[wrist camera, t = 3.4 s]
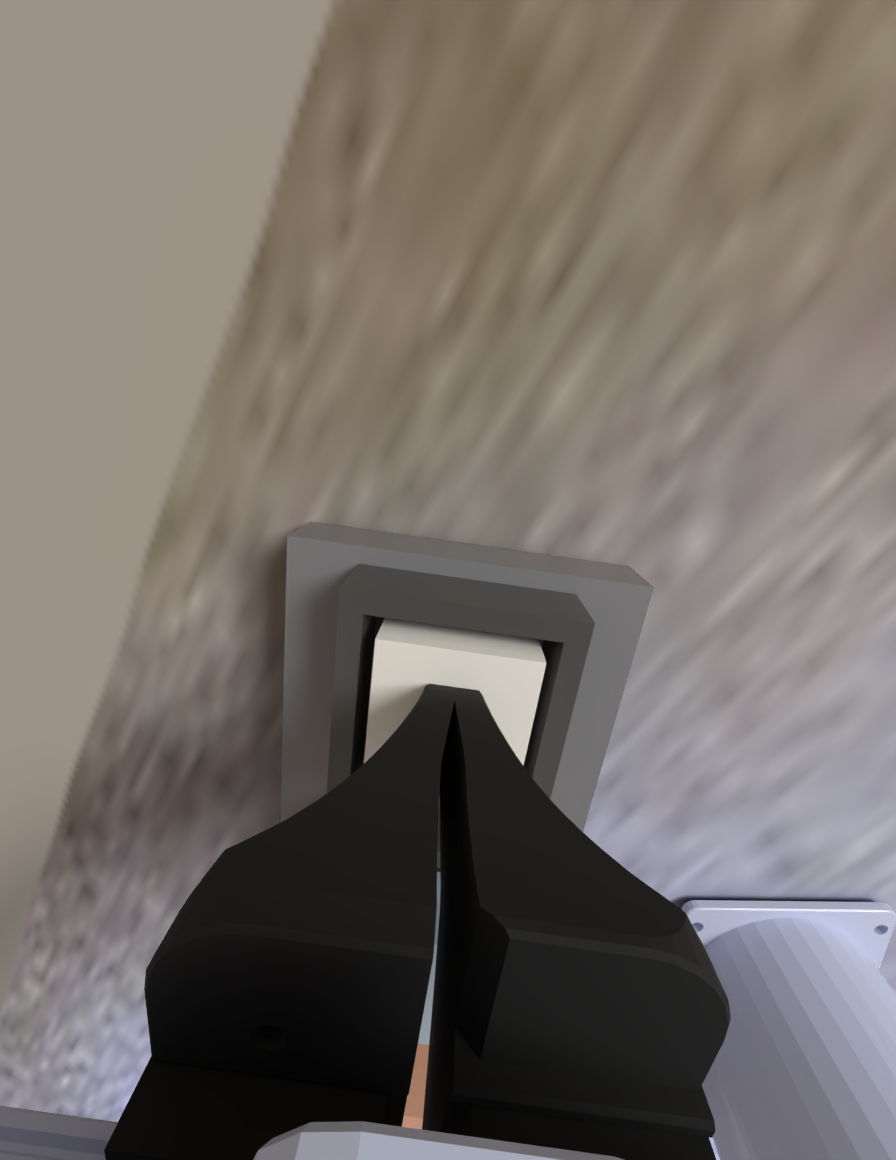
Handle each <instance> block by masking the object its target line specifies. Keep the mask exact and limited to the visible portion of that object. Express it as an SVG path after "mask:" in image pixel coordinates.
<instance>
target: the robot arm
mask: <svg viewBox="0 0 896 1160" xmlns="http://www.w3.org/2000/svg"><path fill="white" fill-rule="evenodd" d="M439 795H440V880H441V889H440V915H439V928H438V941H437V954H436V967H435V979H434V992H433V1004H432V1017H431V1029H430V1041H429V1053H428V1065H427V1076H426V1088H425V1100H424V1111H423V1123H422V1130H421V1129H414V1128H406V1127H402V1123H403V1117H404V1112H405V1106H406V1100H407V1095H409V1090H410V1085H411V1079H412V1074H413V1068H414V1063H415V1057H416V1051H417V1046H418V1040H419V1035H420V1029H421V1023H422V1018H423V1012H424V1007H425V1001H426V995H427V990H428V984H429V979H430V973H431V967H432V962H433V954H434V942H435V927H436V912H437V842H438V813H439ZM895 923H896V914H895V912H894V911H893V910H892V909H891V908H890V907H889V906H888V905H887V904H885V903H881V902H828V901H740V900H691V901H688V902H686V903H685V904H684V905H683V907H682V909H680V908H679V907H677V906H676V905H674V904H673V903H672V902H670V901H669V900H667V899H666V898H665V897H663V896H662V895H660V894H659V893H658V892H656V891H655V890H653V889H652V888H651V887H649V886H648V885H646V884H645V883H644V882H642V881H641V880H639V879H638V878H637V877H635V876H634V875H633V874H631V873H630V872H629V871H627V870H626V869H625V868H624V867H623V866H621V865H620V864H619V863H618V862H616V861H615V860H614V859H613V858H612V857H610V856H609V855H608V854H607V853H606V852H604V851H603V850H602V849H601V848H600V847H599V846H597V845H596V844H595V843H594V842H593V841H592V840H591V839H590V838H588V837H587V836H586V835H585V834H584V833H583V832H582V831H581V830H580V829H579V828H578V827H577V826H576V825H575V824H574V823H573V822H572V821H571V820H570V819H569V818H568V817H567V816H566V815H565V814H563V812H562V811H561V810H560V809H559V808H558V807H557V806H556V805H555V804H554V803H553V802H552V801H551V800H550V799H549V797H548V796H547V795H546V794H545V793H544V792H543V790H542V789H541V788H540V787H539V786H538V785H537V783H536V782H535V781H534V780H533V778H532V777H531V776H530V774H529V773H528V772H527V770H526V769H525V767H524V766H523V765H522V763H521V762H520V760H519V759H518V758H517V756H516V754H515V753H514V751H513V750H512V748H511V747H510V745H509V744H508V742H507V740H506V739H505V737H504V735H503V734H502V732H501V730H500V729H499V727H498V725H497V723H496V722H495V720H494V718H493V716H492V714H491V712H490V710H489V708H488V706H487V704H486V702H485V699H484V697H483V695H482V694H481V692H480V691H479V690H473V689H465V688H458V687H451V686H444V685H437V684H428V685H427V686H425V687H424V690H423V692H422V694H421V696H420V698H419V699H418V701H417V703H416V704H415V706H414V707H413V709H412V710H411V712H410V713H409V714H408V716H407V717H406V718H405V719H404V721H403V722H402V723H401V725H400V726H399V727H398V728H397V730H396V731H395V732H394V733H393V734H392V735H391V736H390V738H389V739H388V740H387V741H386V742H385V743H384V744H383V745H382V746H381V747H380V749H379V750H378V751H377V752H376V753H375V754H374V755H373V756H371V757H370V758H369V759H368V760H367V761H366V762H365V763H364V764H363V765H362V766H361V767H359V768H358V769H357V770H356V771H355V772H354V773H353V774H351V775H350V776H349V777H348V778H346V779H345V780H344V781H342V782H341V783H340V784H339V785H337V786H336V787H335V788H334V789H332V790H331V791H329V792H328V793H327V794H325V795H324V796H323V797H321V798H320V799H318V800H317V801H315V802H313V803H312V804H310V805H309V806H307V807H305V808H304V809H302V810H301V811H299V812H298V813H296V814H294V815H293V816H291V817H290V818H288V819H286V820H285V821H283V822H281V823H279V824H277V825H276V826H273V827H271V828H269V829H267V830H265V831H263V832H261V833H259V834H257V835H255V836H253V837H251V838H249V839H247V840H245V841H243V842H241V843H239V844H237V845H234V846H232V847H230V848H228V849H226V850H225V851H224V852H223V853H222V854H221V856H220V857H219V858H218V859H217V861H216V862H215V863H214V864H213V866H212V867H211V868H210V870H209V871H208V872H207V873H206V875H205V876H204V877H203V879H202V880H201V882H200V883H199V884H198V885H197V887H196V888H195V889H194V891H193V892H192V893H191V895H190V896H189V898H188V899H187V901H186V902H185V904H184V905H183V907H182V908H181V910H180V911H179V913H178V915H177V917H176V918H175V920H174V922H173V923H172V925H171V927H170V929H169V930H168V932H167V934H166V935H165V937H164V939H163V941H162V942H161V944H160V946H159V947H158V949H157V951H156V953H155V954H154V956H153V958H152V960H151V962H150V964H149V965H148V967H147V969H146V977H145V988H144V990H145V999H146V1008H147V1017H148V1026H149V1035H150V1044H151V1053H152V1056H151V1058H150V1060H149V1062H148V1064H147V1066H146V1068H145V1070H144V1072H143V1074H142V1076H141V1078H140V1080H139V1082H138V1084H137V1086H136V1088H135V1090H134V1092H133V1094H132V1096H131V1098H130V1100H129V1102H128V1104H127V1106H126V1108H125V1110H124V1112H123V1114H122V1116H121V1118H120V1120H119V1121H118V1122H112V1121H104V1120H97V1119H90V1118H83V1117H76V1116H69V1115H62V1114H54V1113H47V1112H40V1111H33V1110H26V1109H19V1108H12V1107H4V1106H0V1160H716V1158H715V1155H714V1152H713V1149H712V1146H711V1143H710V1140H709V1137H713V1139H714V1142H715V1145H716V1148H717V1151H718V1154H719V1157H720V1160H896V993H895V991H894V990H893V989H892V988H891V986H890V985H889V984H888V982H887V981H886V980H885V978H884V977H883V976H882V974H881V973H880V972H879V968H880V966H881V963H882V960H883V957H884V954H885V952H886V949H887V946H888V943H889V940H890V937H891V935H892V932H893V929H894V926H895Z"/></svg>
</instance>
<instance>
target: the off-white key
mask: <svg viewBox="0 0 896 1160" xmlns="http://www.w3.org/2000/svg"><path fill="white" fill-rule="evenodd" d="M545 668H546V660H545V657H544V654H543V651H542V648H541V645H540V642H539V639H534V638H527V637H520V636H512V635H505V634H498V633H491V632H484V631H477V630H470V629H463V628H456V627H449V626H442V625H434V624H427V623H420V622H413V621H406V620H399V619H392V618H384V621H383V623H382V625H381V627H380V629H379V632H378V634H377V636H376V638H375V647H374V658H373V669H372V680H371V690H370V701H369V712H368V723H367V734H366V744H365V755H364V763H365V762H366V761H367V760H368V759H369V758H370V757H371V756H373V755H374V754H375V753H376V752H377V751H378V750H379V749H380V747H381V746H382V745H383V744H384V743H385V742H386V741H387V740H388V739H389V738H390V736H391V735H392V734H393V733H394V732H395V731H396V730H397V728H398V727H399V726H400V725H401V723H402V722H403V721H404V719H405V718H406V717H407V716H408V714H409V713H410V712H411V710H412V709H413V707H414V706H415V704H416V703H417V701H418V699H419V698H420V696H421V694H422V692H423V690H424V687H425V686H427V685H428V684H437V685H444V686H451V687H458V688H465V689H473V690H479V691H480V692H481V694H482V695H483V697H484V699H485V702H486V704H487V706H488V708H489V710H490V712H491V714H492V716H493V718H494V720H495V722H496V723H497V725H498V727H499V729H500V730H501V732H502V734H503V735H504V737H505V739H506V740H507V742H508V744H509V745H510V747H511V748H512V750H513V751H514V753H515V754H516V756H517V758H518V759H519V760H520V762H521V763H522V765H524V761H525V757H526V752H527V748H528V743H529V739H530V734H531V730H532V726H533V721H534V717H535V712H536V708H537V703H538V699H539V694H540V690H541V686H542V681H543V677H544V672H545Z"/></svg>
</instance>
